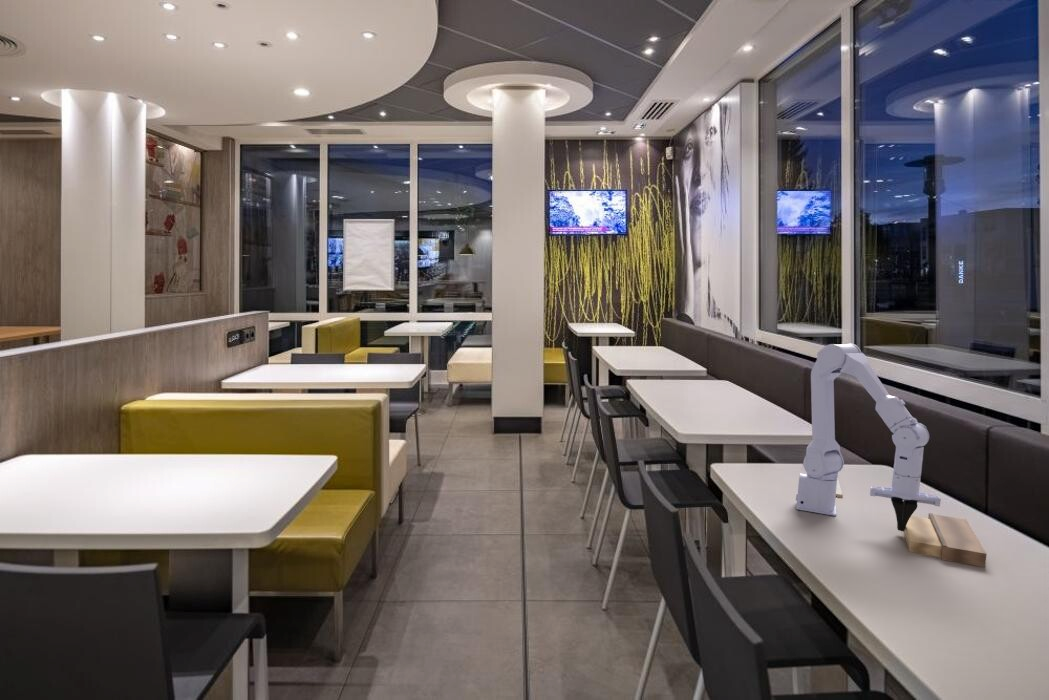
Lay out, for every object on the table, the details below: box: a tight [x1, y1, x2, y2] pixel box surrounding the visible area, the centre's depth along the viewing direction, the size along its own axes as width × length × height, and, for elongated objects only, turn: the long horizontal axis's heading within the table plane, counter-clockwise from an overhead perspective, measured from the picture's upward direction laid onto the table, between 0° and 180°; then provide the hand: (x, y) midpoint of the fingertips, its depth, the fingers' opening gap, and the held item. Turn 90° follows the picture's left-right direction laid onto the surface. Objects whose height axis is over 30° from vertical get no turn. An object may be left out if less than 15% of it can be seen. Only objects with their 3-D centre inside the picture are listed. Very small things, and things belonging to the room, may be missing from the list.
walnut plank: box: [927, 512, 987, 568], centre depth 157 cm, size 8×24×3 cm, turn 156°
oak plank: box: [902, 515, 942, 558], centre depth 159 cm, size 6×20×3 cm, turn 156°
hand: (900, 529), depth 161 cm, fingers closed
